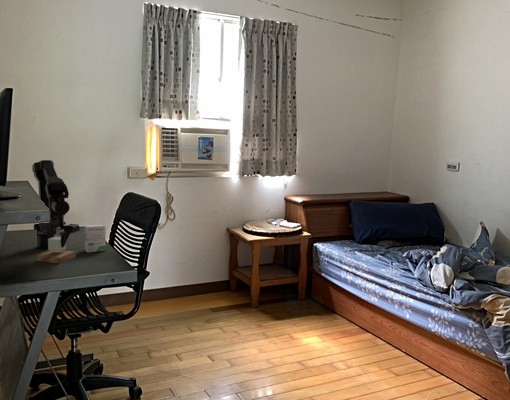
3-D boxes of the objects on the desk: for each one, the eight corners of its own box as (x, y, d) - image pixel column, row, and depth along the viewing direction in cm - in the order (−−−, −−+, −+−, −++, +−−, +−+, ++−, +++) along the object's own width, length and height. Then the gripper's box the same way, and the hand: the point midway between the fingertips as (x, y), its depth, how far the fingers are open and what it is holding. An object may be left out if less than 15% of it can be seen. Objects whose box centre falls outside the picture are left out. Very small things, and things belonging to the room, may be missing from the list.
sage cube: (48, 250, 207) (48, 238, 207) (55, 247, 212) (55, 236, 211) (58, 251, 206) (58, 240, 205) (65, 248, 211) (65, 237, 210)
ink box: (103, 248, 230) (103, 224, 228) (105, 251, 225) (105, 226, 224) (84, 250, 225) (84, 225, 224) (86, 252, 221) (86, 227, 220)
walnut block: (37, 262, 205) (37, 255, 205) (54, 255, 216) (54, 249, 215) (60, 264, 203) (60, 257, 202) (76, 258, 213) (76, 251, 213)
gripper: (24, 212, 201) (25, 249, 203) (64, 215, 197) (64, 253, 199) (41, 208, 212) (42, 243, 214) (80, 211, 208) (80, 247, 210)
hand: (57, 246), depth 209 cm, fingers closed on sage cube, 5 cm apart
